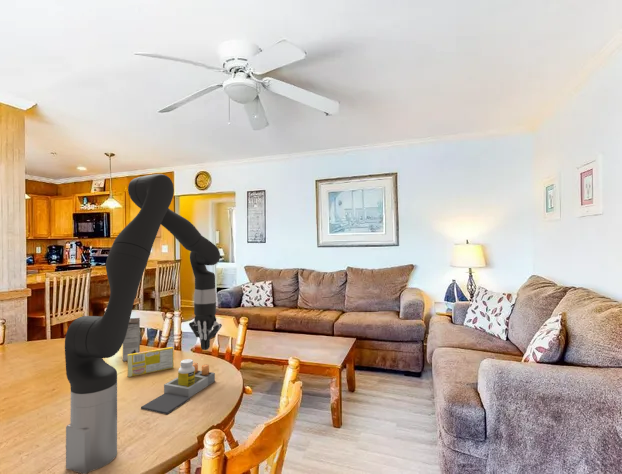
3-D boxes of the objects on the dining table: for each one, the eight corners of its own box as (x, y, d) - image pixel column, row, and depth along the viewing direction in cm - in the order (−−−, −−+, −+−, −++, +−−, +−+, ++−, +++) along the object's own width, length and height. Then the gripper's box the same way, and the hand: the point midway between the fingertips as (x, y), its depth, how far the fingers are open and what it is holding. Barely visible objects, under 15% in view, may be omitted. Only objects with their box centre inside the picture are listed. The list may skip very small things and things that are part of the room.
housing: (188, 398, 110) (188, 388, 110) (164, 393, 114) (164, 384, 114) (214, 381, 123) (214, 372, 123) (192, 377, 127) (192, 369, 127)
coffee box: (123, 355, 152) (123, 318, 152) (140, 352, 155) (140, 317, 155) (122, 361, 144) (122, 323, 144) (139, 359, 146) (139, 321, 147)
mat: (167, 414, 100) (167, 412, 100) (140, 408, 103) (140, 406, 103) (190, 399, 109) (190, 397, 109) (165, 394, 113) (165, 392, 113)
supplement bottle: (189, 393, 113) (189, 364, 113) (174, 392, 114) (174, 363, 115) (197, 386, 119) (197, 358, 119) (183, 385, 120) (183, 357, 120)
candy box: (172, 366, 138) (172, 346, 138) (173, 368, 136) (173, 347, 136) (127, 375, 129) (127, 353, 129) (127, 377, 127) (127, 355, 128)
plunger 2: (206, 375, 121) (206, 367, 121) (200, 374, 122) (200, 366, 122) (210, 373, 123) (210, 364, 123) (204, 372, 124) (204, 364, 124)
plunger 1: (194, 374, 122) (194, 365, 122) (188, 373, 123) (188, 364, 123) (199, 371, 125) (199, 363, 125) (193, 370, 126) (193, 362, 126)
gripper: (183, 301, 121) (183, 350, 121) (214, 304, 117) (214, 354, 117) (196, 298, 128) (196, 344, 128) (226, 300, 124) (227, 348, 124)
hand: (205, 349), depth 123 cm, fingers closed
